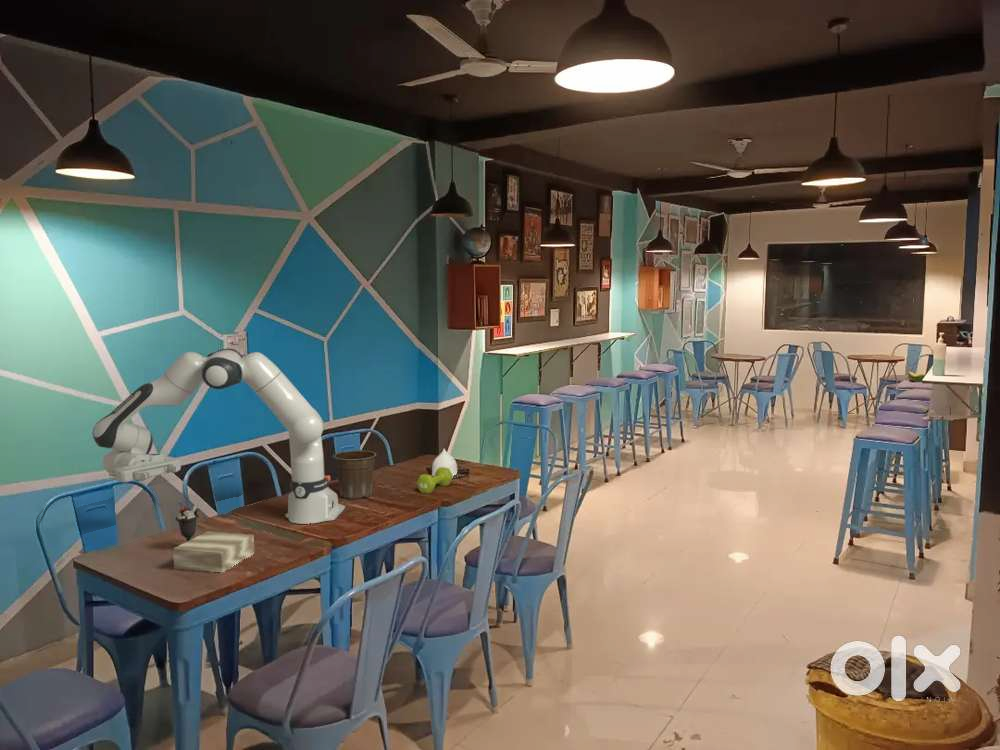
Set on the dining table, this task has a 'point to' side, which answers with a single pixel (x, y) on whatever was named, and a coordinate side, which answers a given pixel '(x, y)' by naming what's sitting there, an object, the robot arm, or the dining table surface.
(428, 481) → the dumbbell
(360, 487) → the plant pot
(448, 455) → the teardrop
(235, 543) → the cream block
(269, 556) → the dining table surface
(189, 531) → the sundae
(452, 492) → the dining table surface
